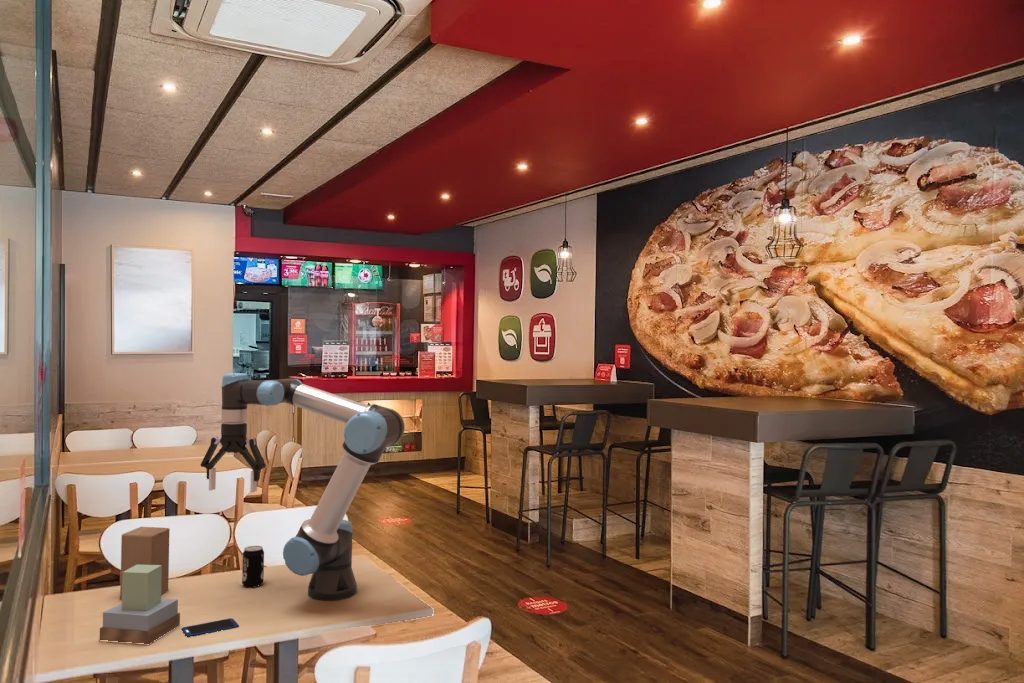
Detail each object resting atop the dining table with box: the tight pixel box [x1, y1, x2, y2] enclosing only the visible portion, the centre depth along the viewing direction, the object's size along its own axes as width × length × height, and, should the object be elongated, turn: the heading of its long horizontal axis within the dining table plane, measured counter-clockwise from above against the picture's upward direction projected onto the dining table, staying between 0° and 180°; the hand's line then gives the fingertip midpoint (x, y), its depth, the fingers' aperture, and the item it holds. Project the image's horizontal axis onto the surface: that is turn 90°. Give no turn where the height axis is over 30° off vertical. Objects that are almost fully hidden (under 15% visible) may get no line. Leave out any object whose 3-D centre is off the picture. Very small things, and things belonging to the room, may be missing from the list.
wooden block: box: [119, 526, 171, 600], centre depth 231 cm, size 10×10×20 cm
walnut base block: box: [99, 612, 181, 645], centre depth 201 cm, size 14×14×4 cm
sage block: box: [121, 565, 162, 611], centre depth 201 cm, size 7×7×10 cm
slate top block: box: [102, 597, 179, 631], centre depth 201 cm, size 13×13×4 cm
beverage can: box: [241, 545, 265, 588], centre depth 243 cm, size 7×7×12 cm
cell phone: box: [180, 617, 240, 638], centre depth 206 cm, size 7×14×1 cm, turn 126°
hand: (232, 490), depth 232 cm, fingers open, 13 cm apart
